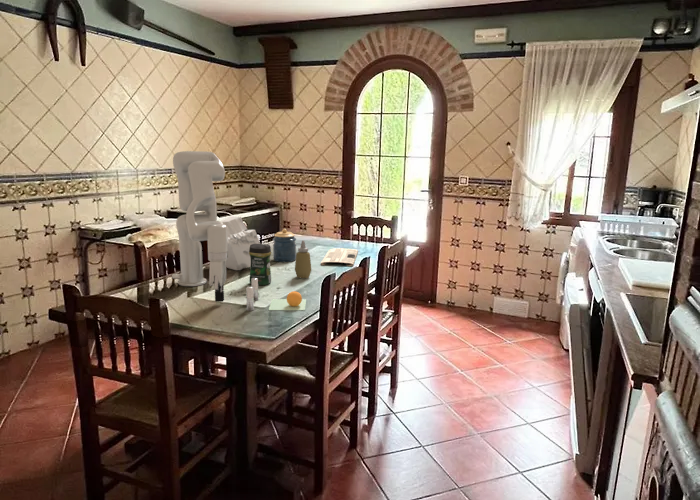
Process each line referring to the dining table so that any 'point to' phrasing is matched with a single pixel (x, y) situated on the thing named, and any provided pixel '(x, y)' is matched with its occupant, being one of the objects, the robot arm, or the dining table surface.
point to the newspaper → (341, 256)
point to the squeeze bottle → (303, 262)
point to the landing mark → (286, 305)
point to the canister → (284, 246)
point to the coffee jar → (260, 263)
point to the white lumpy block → (239, 243)
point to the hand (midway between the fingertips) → (219, 300)
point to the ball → (294, 298)
